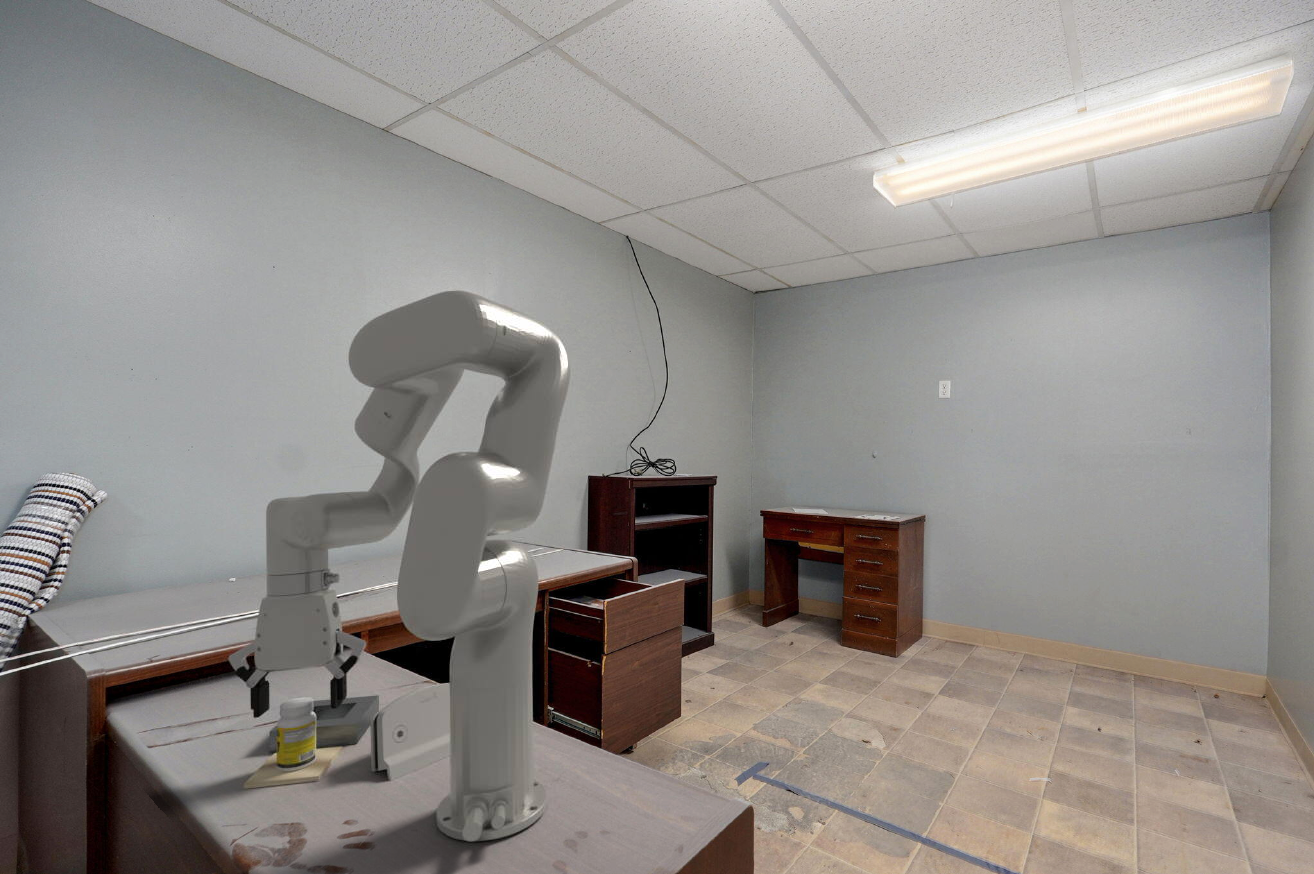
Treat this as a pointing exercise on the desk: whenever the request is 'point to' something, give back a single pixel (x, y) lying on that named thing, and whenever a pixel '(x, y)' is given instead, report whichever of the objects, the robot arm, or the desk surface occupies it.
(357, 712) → the socket block
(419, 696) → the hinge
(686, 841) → the desk surface
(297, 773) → the pad
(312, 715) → the supplement bottle
